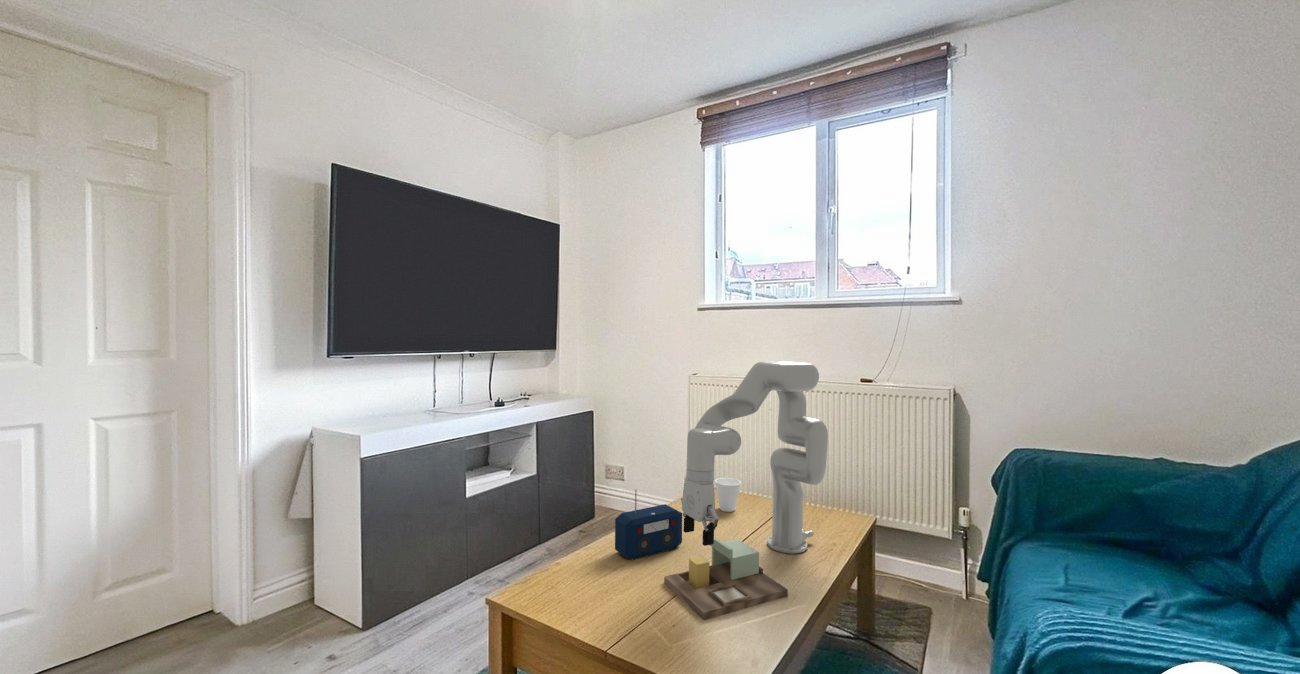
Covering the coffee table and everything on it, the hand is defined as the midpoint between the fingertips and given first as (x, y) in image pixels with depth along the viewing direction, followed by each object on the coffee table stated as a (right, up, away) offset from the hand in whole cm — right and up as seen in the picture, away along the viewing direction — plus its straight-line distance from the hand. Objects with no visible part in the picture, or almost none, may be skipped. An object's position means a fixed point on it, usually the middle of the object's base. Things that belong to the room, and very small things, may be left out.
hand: (698, 537), depth 141 cm
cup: (+17, -13, +61) cm, 64 cm away
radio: (-13, -13, +23) cm, 29 cm away
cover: (+11, -11, +6) cm, 16 cm away
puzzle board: (+7, -13, -2) cm, 15 cm away
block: (0, -13, +1) cm, 13 cm away
